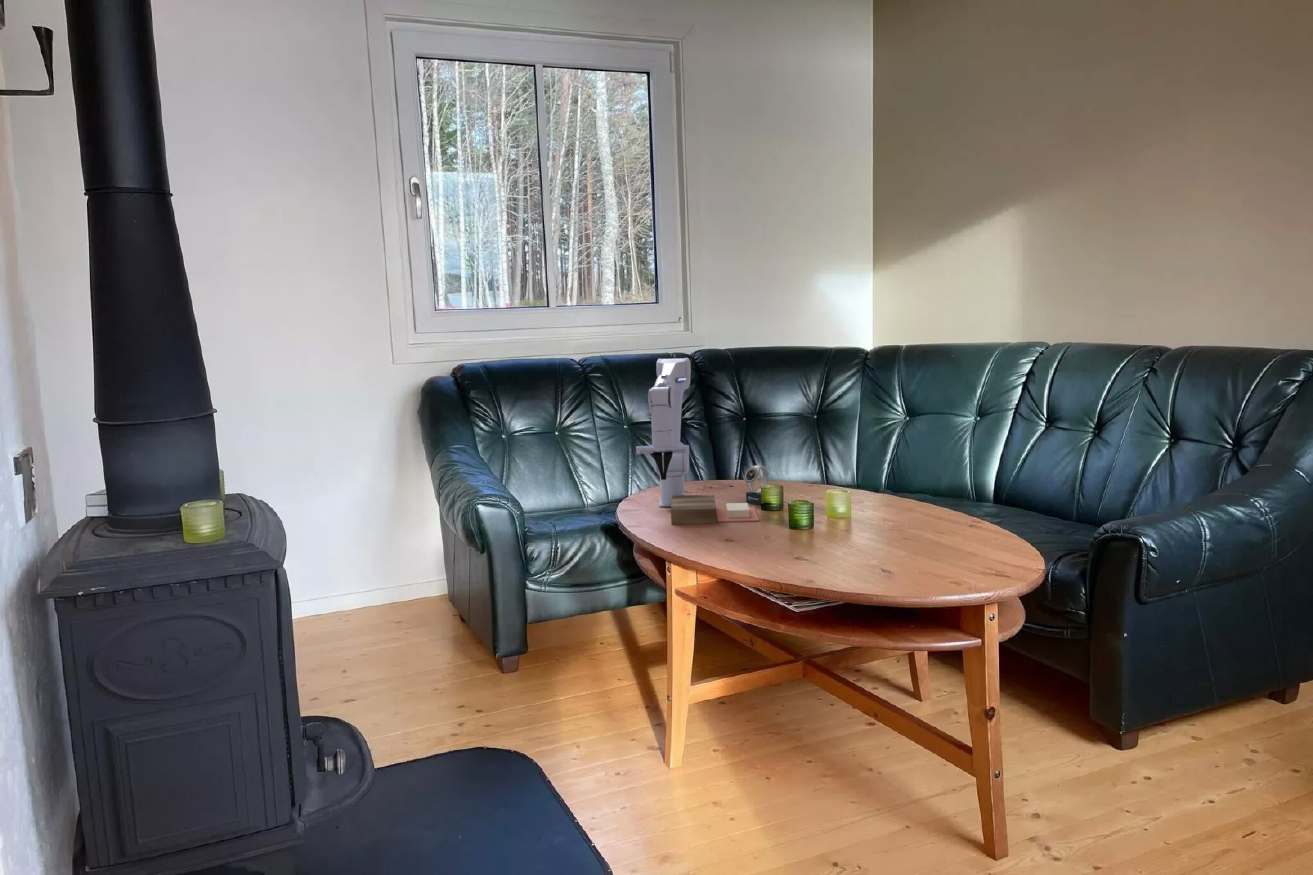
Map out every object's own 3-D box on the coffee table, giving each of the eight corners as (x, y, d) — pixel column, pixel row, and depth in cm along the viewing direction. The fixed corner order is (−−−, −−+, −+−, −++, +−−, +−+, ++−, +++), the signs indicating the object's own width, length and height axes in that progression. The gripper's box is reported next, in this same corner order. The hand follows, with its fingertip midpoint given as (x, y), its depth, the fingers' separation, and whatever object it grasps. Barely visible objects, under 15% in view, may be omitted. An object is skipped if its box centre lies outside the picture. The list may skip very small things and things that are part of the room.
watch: (741, 503, 246) (740, 466, 245) (760, 499, 252) (759, 463, 250) (756, 506, 242) (755, 468, 241) (774, 501, 247) (773, 465, 246)
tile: (747, 502, 236) (747, 509, 236) (725, 503, 237) (726, 510, 237) (749, 509, 227) (749, 517, 228) (727, 510, 228) (727, 517, 228)
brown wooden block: (672, 509, 242) (672, 495, 241) (714, 508, 242) (714, 494, 241) (671, 524, 224) (670, 509, 224) (716, 523, 224) (716, 508, 223)
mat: (715, 509, 241) (715, 507, 240) (754, 508, 240) (754, 506, 240) (717, 522, 225) (717, 520, 225) (758, 521, 224) (758, 519, 224)
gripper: (634, 432, 227) (636, 482, 229) (688, 431, 227) (689, 481, 228) (636, 429, 234) (638, 477, 236) (688, 428, 234) (689, 476, 235)
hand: (663, 479), depth 233 cm, fingers closed
